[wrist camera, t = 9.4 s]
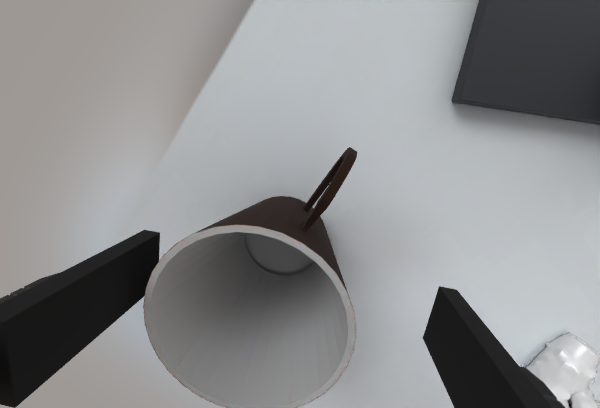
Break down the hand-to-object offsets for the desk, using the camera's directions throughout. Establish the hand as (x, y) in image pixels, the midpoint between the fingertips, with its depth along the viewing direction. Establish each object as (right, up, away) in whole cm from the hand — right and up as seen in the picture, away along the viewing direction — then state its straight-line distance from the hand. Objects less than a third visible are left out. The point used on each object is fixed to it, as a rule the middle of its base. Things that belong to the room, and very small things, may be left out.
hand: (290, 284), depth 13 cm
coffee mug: (0, +2, +8) cm, 8 cm away
